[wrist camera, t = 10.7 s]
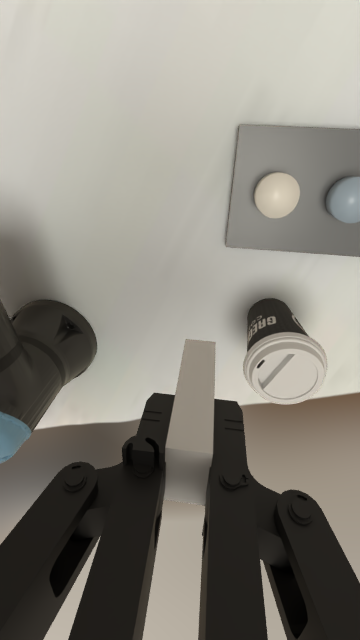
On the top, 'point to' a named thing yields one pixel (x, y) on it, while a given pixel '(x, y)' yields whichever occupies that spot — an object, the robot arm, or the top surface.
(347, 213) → the button blue
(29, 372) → the robot arm
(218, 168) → the top surface
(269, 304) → the coffee cup
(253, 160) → the panel
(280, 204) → the button cream
